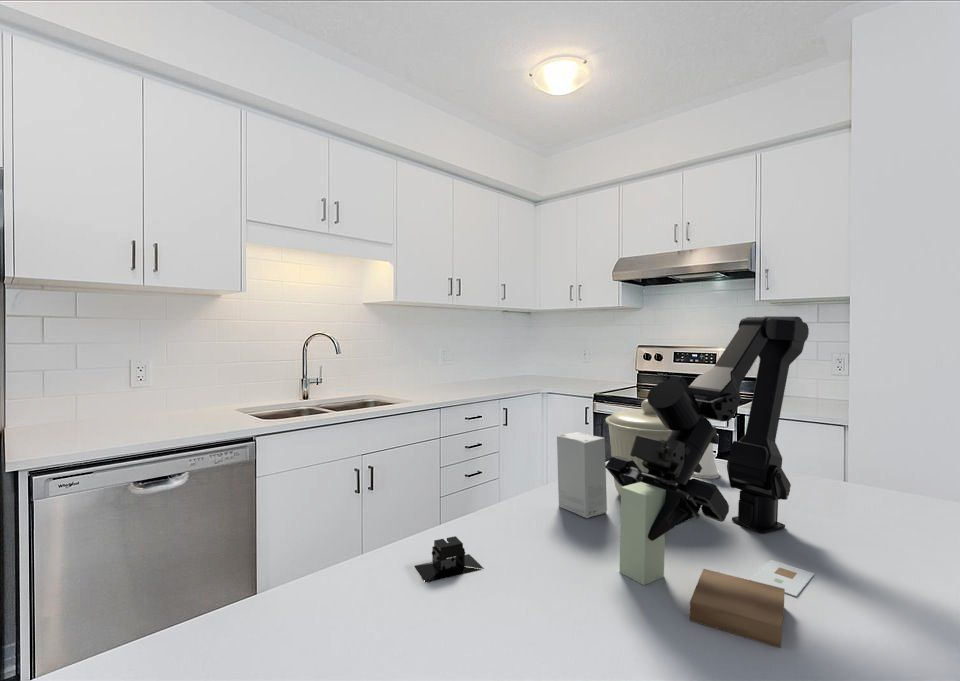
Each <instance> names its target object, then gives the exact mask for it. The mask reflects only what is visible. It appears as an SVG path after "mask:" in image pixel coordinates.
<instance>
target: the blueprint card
mask: <svg viewBox="0 0 960 681" xmlns="http://www.w3.org/2000/svg"><path fill="white" fill-rule="evenodd" d="M814 576H815V573H814V572H810V571H807V570H805V569H801V568H797V567H795V566H791V565H789V564H785V563H783V562H779V561H775V560H773V559H769V560H768V562H766V563H765V564H764V566H762V567H761V568H760V569H759V570H758V571H757V572H755V574H754V575H752V577H751V578H749V580H751V581H755V582H759V583H763V584H767V585H771V586H775V587H779V588H784V589H785V593H784V594H786V595H789V596H792V597H794V598H797V597H798V596H799V594H800V593H801V592H802V591H803V590H804V588H805V587H806V586H807V584H808V583H809V582H810V581H811V580H812V578H813V577H814Z"/></svg>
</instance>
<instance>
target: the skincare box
mask: <svg viewBox="0 0 960 681" xmlns="http://www.w3.org/2000/svg"><path fill="white" fill-rule="evenodd" d="M605 439H606V438H605V437H602V436H596V435H592V434H587V433H583V432H578V431H574V432H568V433H564V434H558V435H556V450H557V452H556V454H557V484H558V485H557V486H558V488H557V489H558V491H557V492H558V493H557V494H558V507H559V508H561V509H563V510H566V511H569V512H571V513H574V514H575V515H578V516H580V517H583V518H585V519H589V518H591V517H594V516H595V517H596V516H600V515H603V514H604V515H605V514H607V511H608V503H607V499H608V498H607V470H606V469H607V468H606V467H605V466H606V465H607V464H606V440H605Z"/></svg>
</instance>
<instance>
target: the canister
mask: <svg viewBox="0 0 960 681" xmlns="http://www.w3.org/2000/svg"><path fill="white" fill-rule="evenodd" d="M605 423H606V424H608V431H609V432H608V433H609V444H610V451H611V452H610V454H611V457H613V456H620V457H623V458H627V459H630V460H633V461H634V462H635V464H636V465H637V466H638V467H639V469H640V470H641V471H643V472H646V473H648V471H649V470H648V469H647V468H645V467H644V466H643V465H642V462H643V460H642V459H640V458H638V457H632V456H630V453H631V450H632V447H633V444H634V441H635V437H636V436H641V437H645V438H649V439H653V440H657V441H659V440H664V441H666V440H667V438H668V437H669V435H670V433H671V431H672V430H670V429H667V428H666V427H665V426H664V425H663V423H662V422H661V420H660V419H659V417H658V416H657V414H656V413H655V411H654V410H653V409H652V407H651V406H650V404H649V403H648V400H647V398H646V399H644V400H643V401H642V402H641V408H638V409H635V408H634V409H633V408H632V409H624V410H619V411H615V412H613V413H612V414H611V415H608V416H606V418H605ZM613 481H614V485H615V486H614V488H615V490H616V491H617V493H618V494H619V496H621V487H623V486H621V485H620V484H619V483H618V482H617V481H616V479H615V478H614V477H613Z"/></svg>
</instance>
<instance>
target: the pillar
mask: <svg viewBox="0 0 960 681" xmlns="http://www.w3.org/2000/svg"><path fill="white" fill-rule="evenodd" d="M665 495H666V490H664V489H661V488H658V487H655V486H652V485H649V484H646V483H643V482H638V483H634V484H631V485H627V486H623V487H621V495H620V523H619V525H620V528H619V529H620V530H619V531H620V532H619V534H620V535H619V571H618V572H619V573H620V574H623V575H624V576H626V577H628V578H630V579H632V580H633V581H635V582H638V583H639V584H641V585H642V586H645V585H648V584H649V583H652V582H654V581H657V580H660V579H662V578H664V577H665V548H666V546H665V544H666V540H665V538H666V533H665V534H663V535H661V536H660V537H658V538H657V539H655V540H654V541H651V540H650V539H649V538H648V534H649V531H650V529H651V527H652V525H653V523H654V521H655V519H656V518H657V516H658V514H659V512H660V510H661V509H662V507H663V505H664V503H665Z"/></svg>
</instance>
